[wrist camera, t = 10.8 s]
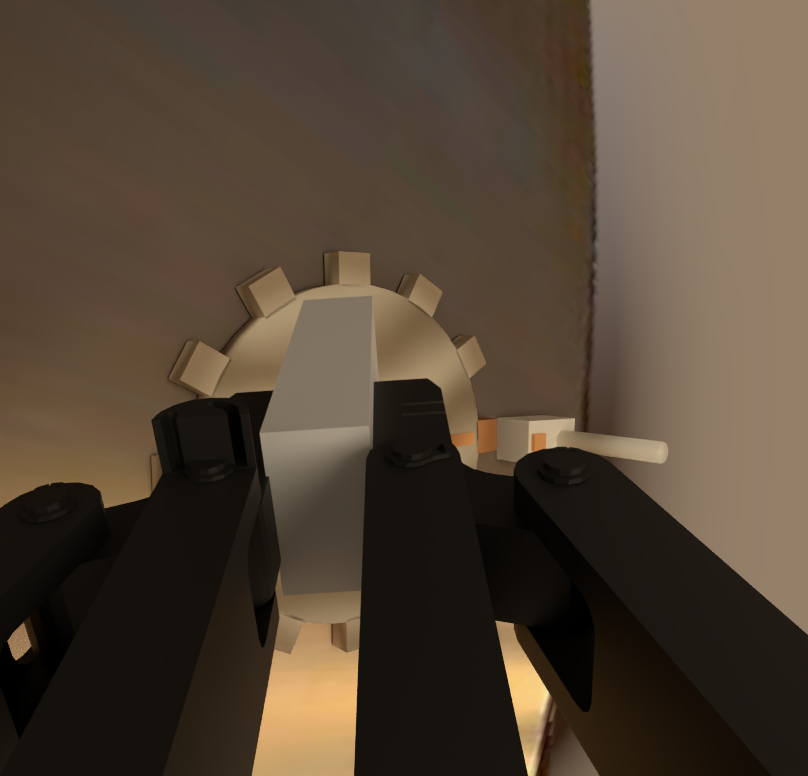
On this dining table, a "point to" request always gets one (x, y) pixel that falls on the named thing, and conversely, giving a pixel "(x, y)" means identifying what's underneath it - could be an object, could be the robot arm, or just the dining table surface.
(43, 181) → the dining table surface
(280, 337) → the sprocket
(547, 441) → the index post
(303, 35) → the dining table surface
